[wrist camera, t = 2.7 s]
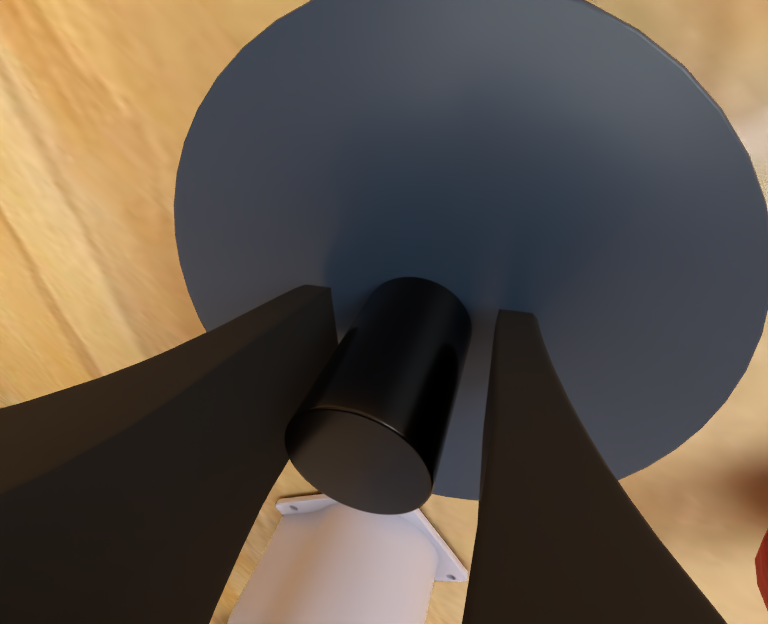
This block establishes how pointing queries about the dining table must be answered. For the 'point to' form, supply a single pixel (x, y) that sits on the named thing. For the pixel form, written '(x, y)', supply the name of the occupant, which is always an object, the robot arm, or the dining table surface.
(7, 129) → the dining table surface
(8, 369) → the dining table surface
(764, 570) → the onion
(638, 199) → the lid
